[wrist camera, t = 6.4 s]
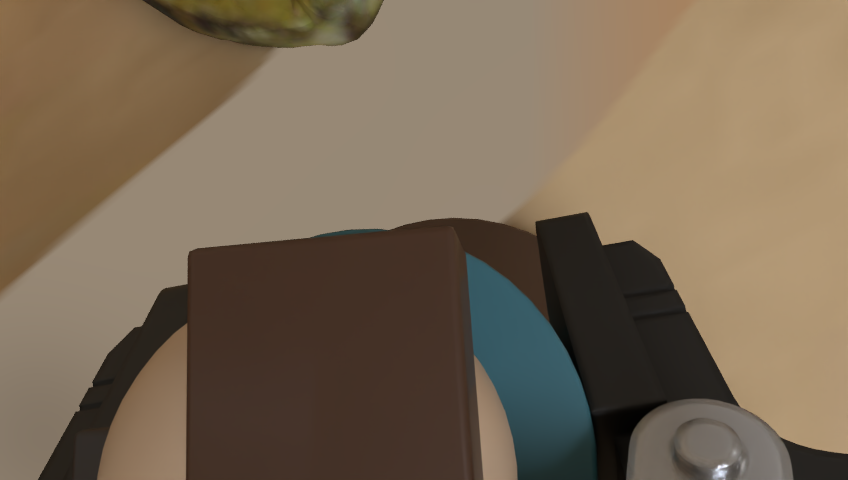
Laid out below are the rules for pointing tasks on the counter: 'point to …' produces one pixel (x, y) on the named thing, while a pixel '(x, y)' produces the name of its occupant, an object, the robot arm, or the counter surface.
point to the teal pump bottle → (350, 372)
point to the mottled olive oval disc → (274, 20)
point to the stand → (500, 252)
